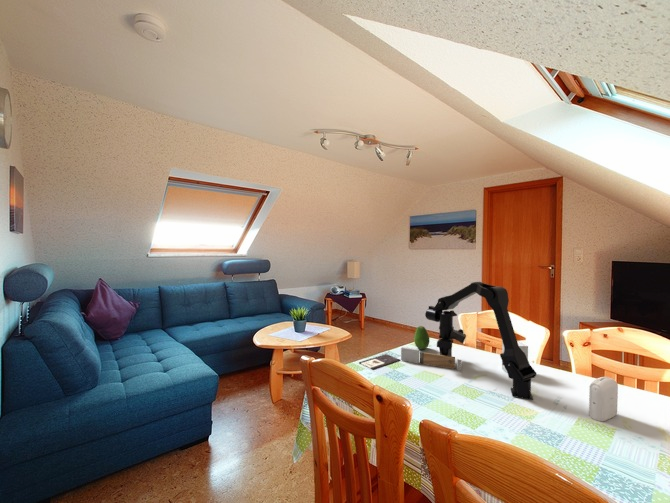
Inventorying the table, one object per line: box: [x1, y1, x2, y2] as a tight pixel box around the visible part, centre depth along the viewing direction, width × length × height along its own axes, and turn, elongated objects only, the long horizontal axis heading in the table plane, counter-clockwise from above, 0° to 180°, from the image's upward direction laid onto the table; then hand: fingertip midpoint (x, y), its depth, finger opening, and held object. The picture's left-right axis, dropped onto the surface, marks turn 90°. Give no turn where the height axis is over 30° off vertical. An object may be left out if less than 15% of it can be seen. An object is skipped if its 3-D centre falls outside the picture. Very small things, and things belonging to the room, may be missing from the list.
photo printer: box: [588, 376, 619, 422], centre depth 99 cm, size 10×4×12 cm, turn 116°
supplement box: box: [501, 340, 529, 373], centre depth 132 cm, size 7×7×13 cm
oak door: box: [419, 350, 456, 370], centre depth 139 cm, size 2×15×5 cm, turn 66°
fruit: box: [413, 325, 430, 350], centre depth 161 cm, size 8×8×12 cm
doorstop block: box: [439, 348, 453, 357], centre depth 142 cm, size 4×5×6 cm
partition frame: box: [400, 346, 462, 371], centre depth 140 cm, size 2×26×6 cm, turn 66°
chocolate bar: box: [358, 353, 401, 371], centre depth 143 cm, size 9×1×18 cm
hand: (445, 357), depth 142 cm, fingers closed on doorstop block, 4 cm apart
